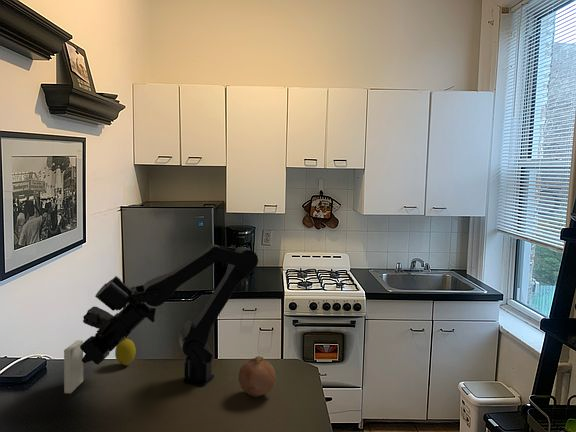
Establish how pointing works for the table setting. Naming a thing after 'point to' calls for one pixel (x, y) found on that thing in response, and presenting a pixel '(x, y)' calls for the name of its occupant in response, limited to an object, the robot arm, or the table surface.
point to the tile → (73, 366)
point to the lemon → (125, 351)
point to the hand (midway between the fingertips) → (83, 361)
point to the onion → (257, 377)
